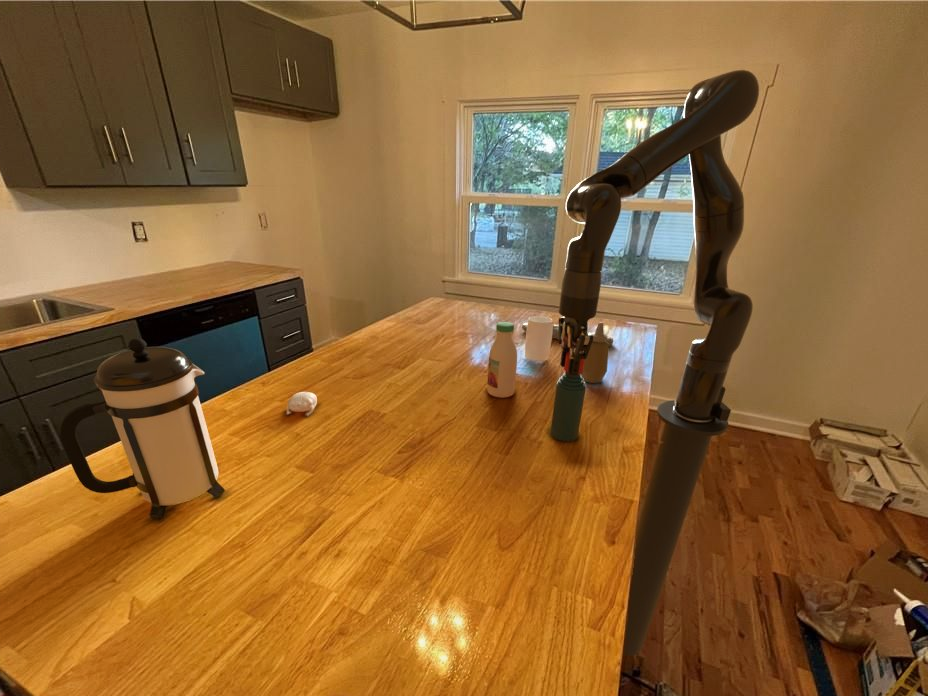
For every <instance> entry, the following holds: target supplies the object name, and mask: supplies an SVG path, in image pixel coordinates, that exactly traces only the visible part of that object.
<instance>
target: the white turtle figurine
mask: <svg viewBox="0 0 928 696" xmlns="http://www.w3.org/2000/svg"><path fill="white" fill-rule="evenodd" d="M317 397H318V396H317V395H316V394H315V393H314V392H310V391H298V392H296V393H294V394H293V395H292V396H291V397H290V398H289V399H288V401H287V407H286V414H285V415H286V416H287V415H289V414H290V415H291V414H292V412H294V413H303V412H306V414H304V416H309V415H311V414H312V413H313V411H314V410H315V408H316V406H317V405H318V398H317Z"/></svg>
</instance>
